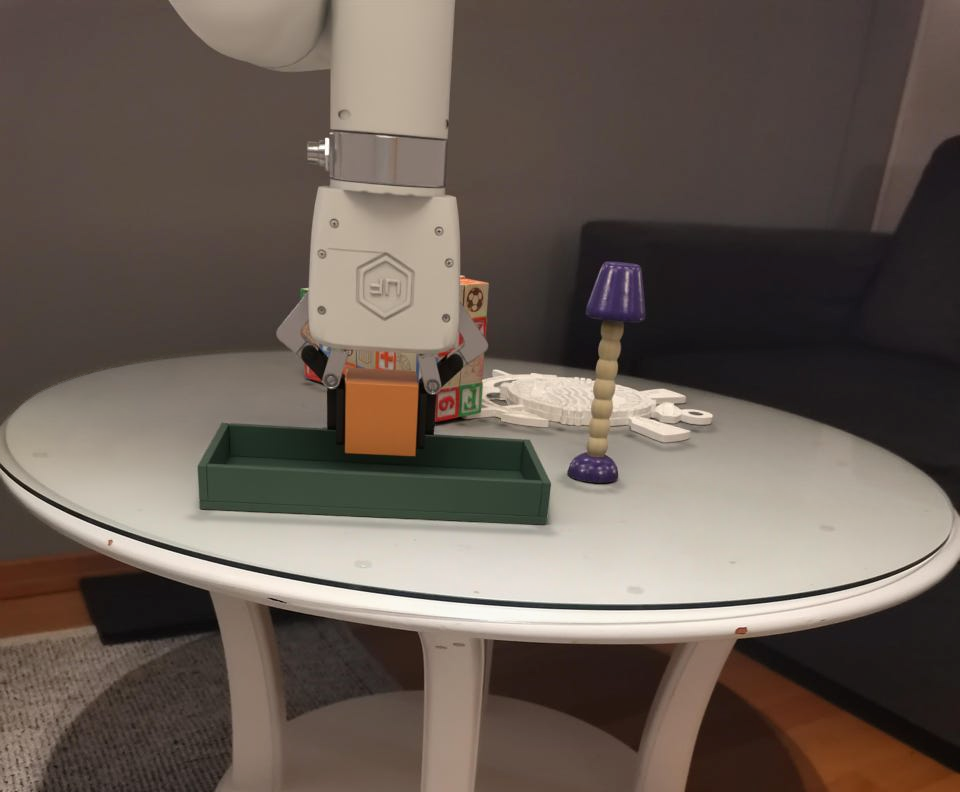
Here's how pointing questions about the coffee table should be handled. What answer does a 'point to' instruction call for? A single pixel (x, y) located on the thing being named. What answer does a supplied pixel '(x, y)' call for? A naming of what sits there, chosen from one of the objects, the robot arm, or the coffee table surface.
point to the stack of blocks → (464, 387)
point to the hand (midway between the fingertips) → (380, 439)
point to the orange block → (381, 412)
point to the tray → (372, 477)
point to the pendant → (584, 405)
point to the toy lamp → (608, 361)
